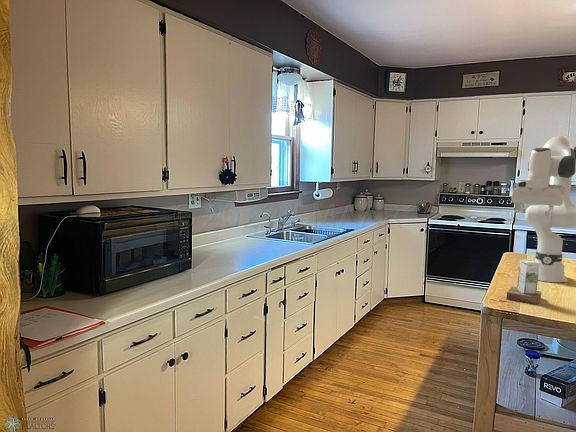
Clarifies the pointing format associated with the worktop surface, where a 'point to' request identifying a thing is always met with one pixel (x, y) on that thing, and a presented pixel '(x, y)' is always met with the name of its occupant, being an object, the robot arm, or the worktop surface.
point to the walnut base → (523, 296)
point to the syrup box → (528, 276)
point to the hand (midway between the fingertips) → (535, 214)
